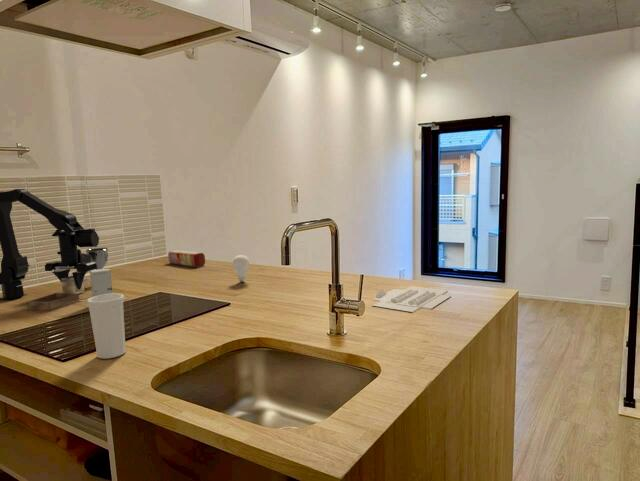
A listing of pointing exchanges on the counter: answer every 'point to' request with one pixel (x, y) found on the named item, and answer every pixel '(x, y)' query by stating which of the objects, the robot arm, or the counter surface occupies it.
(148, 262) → the counter surface
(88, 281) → the dish
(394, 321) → the counter surface
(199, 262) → the snack package
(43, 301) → the open box
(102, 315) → the cup
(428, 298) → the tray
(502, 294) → the counter surface
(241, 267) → the light bulb
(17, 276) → the robot arm
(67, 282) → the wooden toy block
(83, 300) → the card
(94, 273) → the skincare box
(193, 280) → the counter surface
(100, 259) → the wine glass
